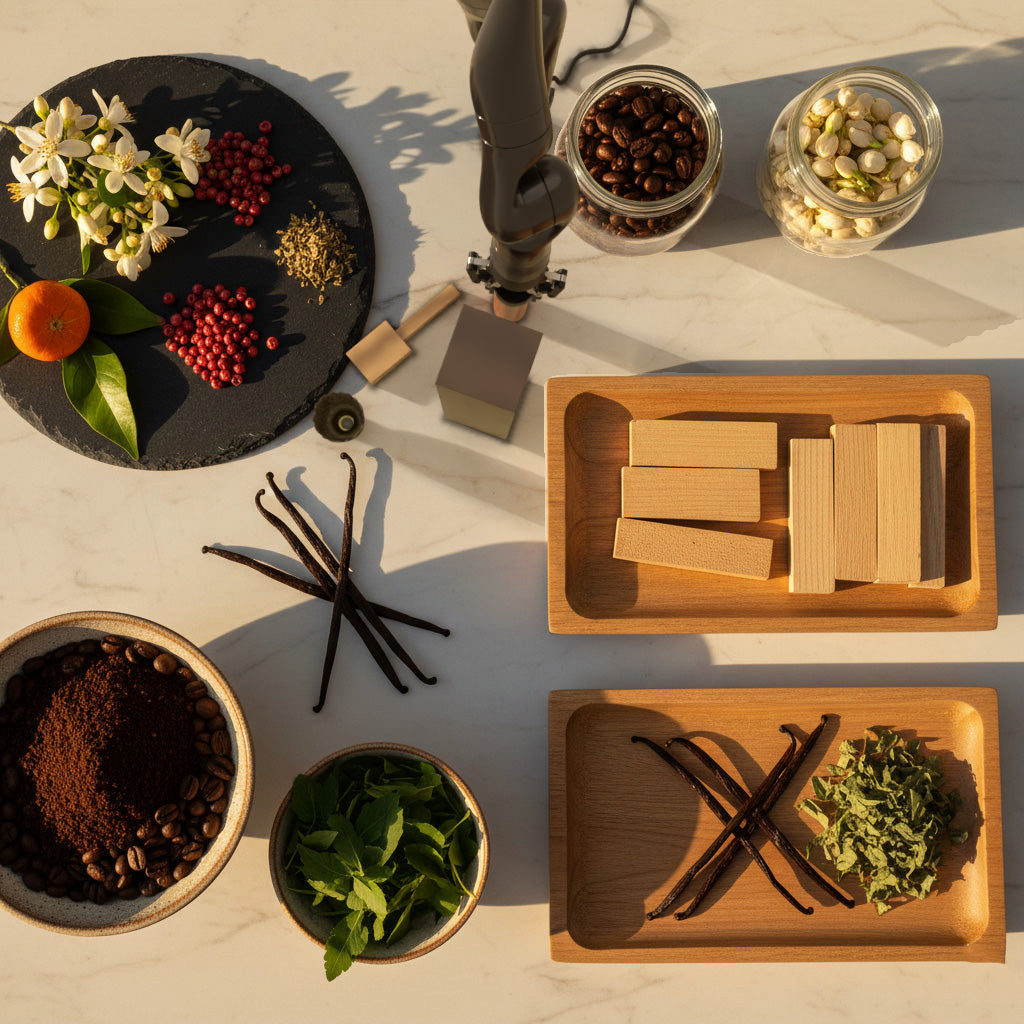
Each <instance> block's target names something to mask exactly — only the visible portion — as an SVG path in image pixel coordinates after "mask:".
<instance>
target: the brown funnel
mask: <svg viewBox="0 0 1024 1024" xmlns="http://www.w3.org/2000/svg"><path fill="white" fill-rule="evenodd" d="M313 408H314V413H313V414H314V415H313V416H312V422H313V427H314V429H315V431H316V432H317V433H318V434H319V435H321V438H323V439H324V440H328V442H330V443H336V444H337V443H338V444H339V443H347V442H350V441H353V440H355V439H356V438H358V437H359V435H360V434H361V433H362V432H363V430H364V427H365V422H366V418H365V412H364V408H363V405H362V404H361V402H359V400H358V399H357V397H356V396H353V395H352V394H349V393H348V392H344V391H338V392H335V391H331V392H330V394H324V395H322V396H321V397H320V398H319V400H318V401H317V402H315V404H314V407H313ZM346 419H349V420H350V421H351V426H350V427H349V428H345V427H344V426H343V421H344V420H346Z"/></svg>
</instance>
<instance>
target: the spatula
mask: <svg viewBox="0 0 1024 1024" xmlns="http://www.w3.org/2000/svg"><path fill="white" fill-rule="evenodd" d="M459 297H461V292H459V290H458V289H457V288H456V286H454V284H452V283H451V284H450V285H448V286H447V287H446V288H444V289H443V290H442V291H441V292H439V294H438V295H436V296H435V297H434V298H433V299H431V300H430V301H429V302H427V303H426V304H425V305H424V306H423V307H422V308H421V309H419V310H418V311H417V312H416V313H414V314H413V315H412V316H411V317H410V318H409V319H408V320H406V321H405V322H404V323H402V325H400V326H399V327H398V328H397V329H394V328H393V327H392V325H390V323H389V322H388V321H387V320H384V321H383V322H382V323H381V324H379V325H378V326H377V327H376V328H374V329H373V330H372V331H371V332H370V333H368V334H367V335H366V336H365V337H363V338H362V339H361V340H360V341H359V342H358V343H357V344H355V345H353V346H352V348H351V349H349V350H348V351H347V352H346V353H345V355H346V356H347V357H348V358H349V360H350V362H352V363H353V364H354V366H355V367H356V368H357V369H358V371H360V373H361V374H362V375H363V376H364V377H365V378H366V380H367V381H368V383H370V384H371V385H372V386H374V385H376V384H377V383H378V382H379V381H381V380H382V379H383V378H384V377H385V376H386V375H388V374H389V373H390V372H391V371H392V370H394V369H395V368H396V367H397V366H398V365H400V364H401V363H402V362H403V361H404V360H406V359H407V358H408V357H409V356H410V355H411V354H413V351H412V349H411V347H410V346H409V345H408V344H407V343H406V342H407V341H408V340H410V338H412V337H413V336H414V335H415V334H416V333H418V332H419V331H420V330H421V329H423V328H424V327H425V326H426V325H427V324H429V323H430V322H431V321H432V320H433V319H435V318H436V317H437V316H438V315H439V314H440V313H442V312H443V311H444V310H445V309H447V308H448V307H449V306H450V305H452V303H454V302H455V301H456V300H457V299H458V298H459Z"/></svg>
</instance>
